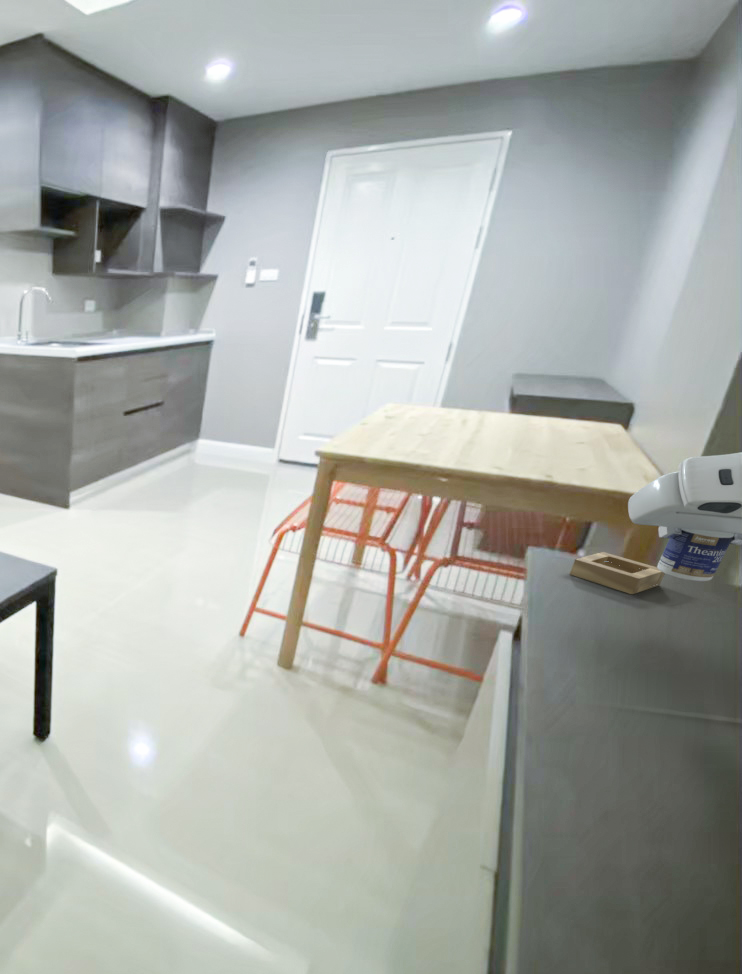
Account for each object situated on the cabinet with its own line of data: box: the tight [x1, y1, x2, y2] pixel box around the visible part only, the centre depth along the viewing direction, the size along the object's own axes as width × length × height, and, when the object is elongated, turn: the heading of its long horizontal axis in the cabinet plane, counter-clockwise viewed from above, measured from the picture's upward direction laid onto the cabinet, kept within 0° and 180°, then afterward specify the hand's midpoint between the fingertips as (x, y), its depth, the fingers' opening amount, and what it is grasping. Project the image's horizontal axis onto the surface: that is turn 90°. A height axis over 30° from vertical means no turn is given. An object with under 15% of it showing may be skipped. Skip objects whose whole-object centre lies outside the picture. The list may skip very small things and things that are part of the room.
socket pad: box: [569, 551, 666, 595], centre depth 108 cm, size 9×9×3 cm
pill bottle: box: [656, 528, 735, 582], centre depth 82 cm, size 5×5×10 cm
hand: (697, 536), depth 83 cm, fingers closed on pill bottle, 5 cm apart
